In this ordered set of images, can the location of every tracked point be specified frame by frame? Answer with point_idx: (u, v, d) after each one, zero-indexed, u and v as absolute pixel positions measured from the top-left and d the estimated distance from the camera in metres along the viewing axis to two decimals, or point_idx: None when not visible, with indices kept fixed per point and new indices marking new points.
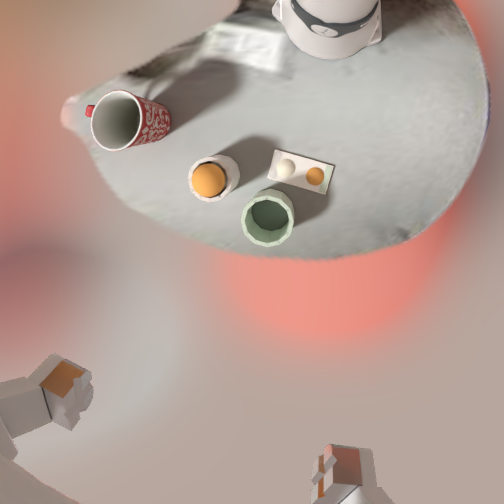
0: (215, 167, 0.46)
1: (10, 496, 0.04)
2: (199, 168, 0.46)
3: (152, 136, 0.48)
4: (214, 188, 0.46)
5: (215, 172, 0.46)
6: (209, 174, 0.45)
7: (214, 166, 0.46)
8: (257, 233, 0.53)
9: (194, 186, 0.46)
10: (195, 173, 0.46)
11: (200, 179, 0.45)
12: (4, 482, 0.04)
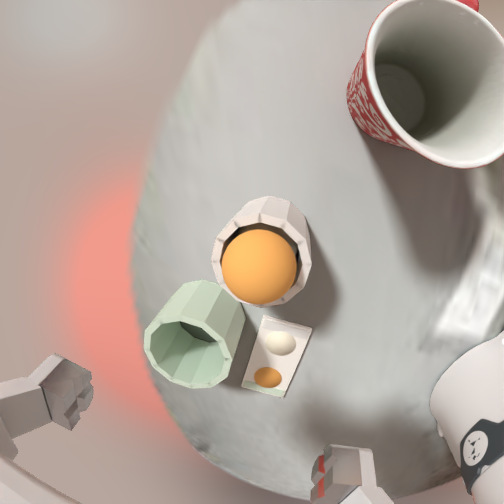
0: None
1: (10, 496, 0.04)
2: (287, 262, 0.20)
3: (371, 127, 0.19)
4: (239, 296, 0.21)
5: (276, 298, 0.21)
6: (271, 293, 0.20)
7: (289, 287, 0.21)
8: None
9: (244, 251, 0.20)
10: (275, 255, 0.20)
11: (260, 274, 0.19)
12: (4, 482, 0.04)
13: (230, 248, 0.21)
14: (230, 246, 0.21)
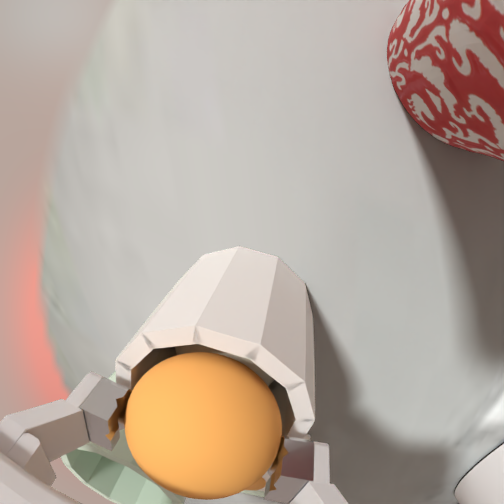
0: None
1: (10, 496, 0.04)
2: (257, 449, 0.07)
3: (477, 115, 0.06)
4: None
5: None
6: (224, 496, 0.07)
7: None
8: None
9: (154, 430, 0.07)
10: (228, 444, 0.07)
11: (193, 481, 0.07)
12: (4, 482, 0.04)
13: (131, 405, 0.08)
14: (133, 398, 0.08)
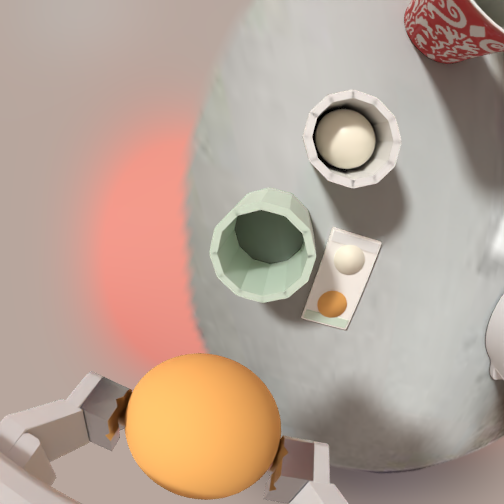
0: None
1: (10, 496, 0.04)
2: (256, 449, 0.07)
3: (439, 32, 0.17)
4: None
5: None
6: (223, 496, 0.07)
7: None
8: None
9: (154, 430, 0.07)
10: (227, 444, 0.07)
11: (192, 481, 0.07)
12: (4, 482, 0.04)
13: (132, 406, 0.08)
14: (133, 399, 0.08)
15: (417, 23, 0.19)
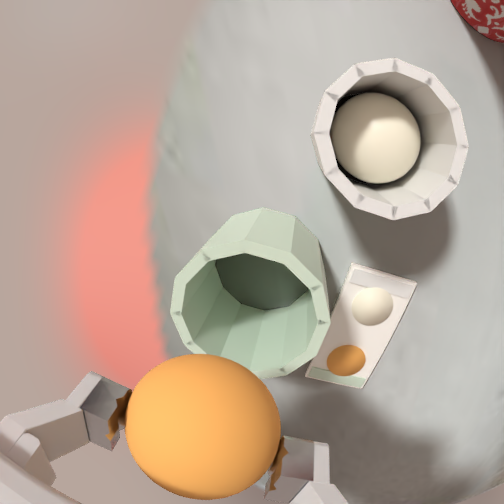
0: None
1: (10, 496, 0.04)
2: (256, 449, 0.07)
3: None
4: None
5: None
6: (223, 497, 0.07)
7: None
8: None
9: (154, 431, 0.07)
10: (227, 445, 0.07)
11: (192, 481, 0.07)
12: (4, 482, 0.04)
13: (132, 406, 0.08)
14: (133, 400, 0.08)
15: None
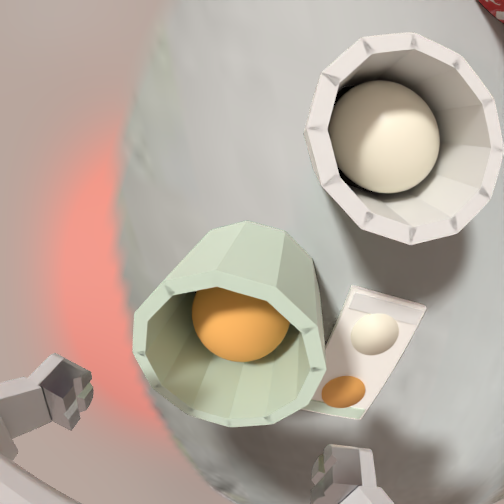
0: None
1: (10, 496, 0.04)
2: (277, 312, 0.15)
3: None
4: (214, 353, 0.15)
5: (263, 356, 0.15)
6: (256, 352, 0.15)
7: (281, 340, 0.16)
8: None
9: (218, 298, 0.14)
10: (261, 304, 0.14)
11: (239, 330, 0.14)
12: (4, 481, 0.04)
13: (201, 291, 0.15)
14: None
15: None
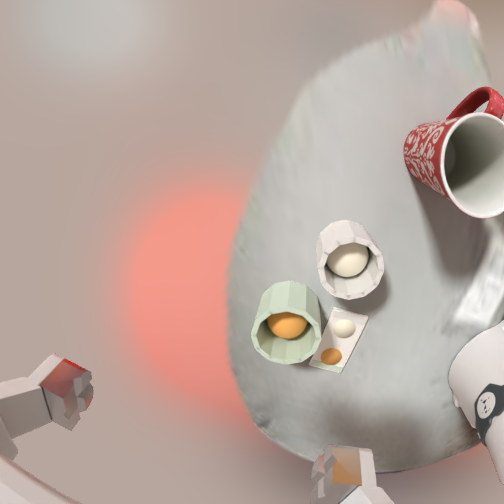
0: None
1: (10, 496, 0.04)
2: (302, 318, 0.38)
3: (426, 182, 0.28)
4: (277, 335, 0.39)
5: None
6: (294, 334, 0.38)
7: (303, 330, 0.39)
8: None
9: (281, 313, 0.38)
10: (297, 315, 0.38)
11: (289, 325, 0.38)
12: (4, 482, 0.04)
13: None
14: None
15: (412, 163, 0.30)
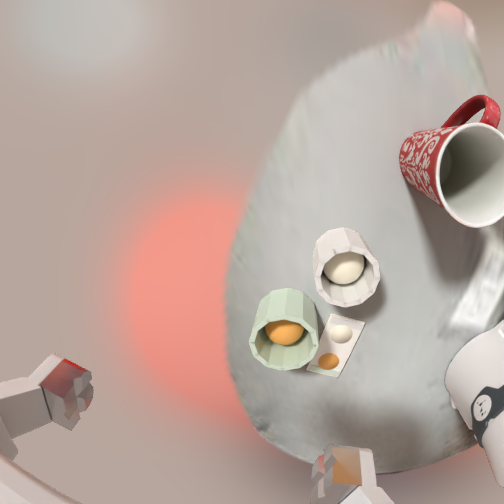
0: (298, 338, 0.40)
1: (10, 496, 0.04)
2: (299, 325, 0.39)
3: (422, 190, 0.29)
4: (274, 341, 0.39)
5: (293, 342, 0.39)
6: (290, 340, 0.39)
7: (300, 336, 0.40)
8: None
9: None
10: (293, 322, 0.38)
11: (285, 332, 0.38)
12: (4, 482, 0.04)
13: None
14: None
15: (408, 171, 0.31)
